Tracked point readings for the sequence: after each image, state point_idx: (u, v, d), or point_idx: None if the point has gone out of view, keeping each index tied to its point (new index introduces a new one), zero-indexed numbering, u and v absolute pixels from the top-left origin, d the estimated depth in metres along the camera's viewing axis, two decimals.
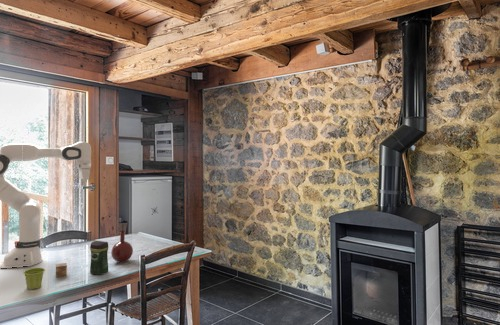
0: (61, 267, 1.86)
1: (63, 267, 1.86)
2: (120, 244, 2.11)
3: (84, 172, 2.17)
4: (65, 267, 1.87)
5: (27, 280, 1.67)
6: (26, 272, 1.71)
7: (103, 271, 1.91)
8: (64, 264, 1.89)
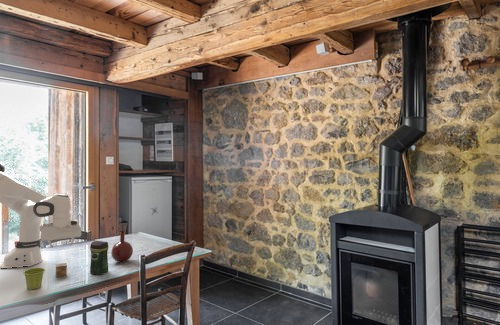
0: (61, 267, 1.86)
1: (63, 267, 1.86)
2: (120, 244, 2.11)
3: (80, 228, 1.92)
4: (65, 267, 1.87)
5: (27, 280, 1.67)
6: (26, 272, 1.71)
7: (103, 271, 1.91)
8: (64, 264, 1.89)
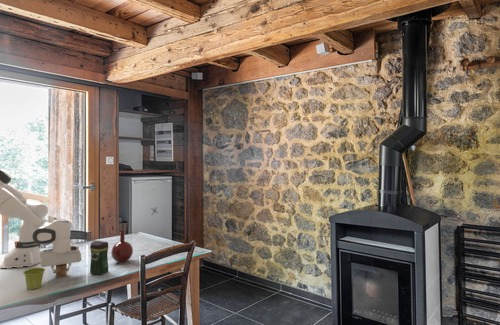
0: (61, 267, 1.86)
1: (63, 267, 1.86)
2: (120, 244, 2.11)
3: (80, 253, 1.92)
4: (65, 267, 1.87)
5: (27, 280, 1.67)
6: (26, 272, 1.71)
7: (103, 271, 1.91)
8: (64, 264, 1.89)
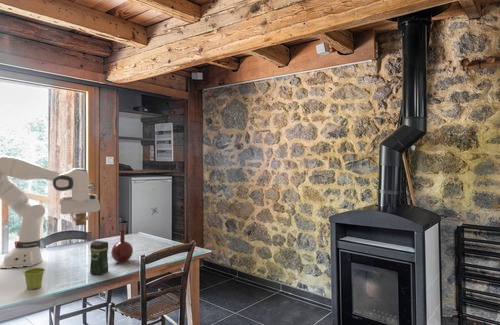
0: (80, 215, 1.87)
1: (82, 215, 1.87)
2: (120, 244, 2.11)
3: None
4: (84, 215, 1.88)
5: (27, 280, 1.67)
6: (26, 272, 1.71)
7: (103, 271, 1.91)
8: (83, 213, 1.90)
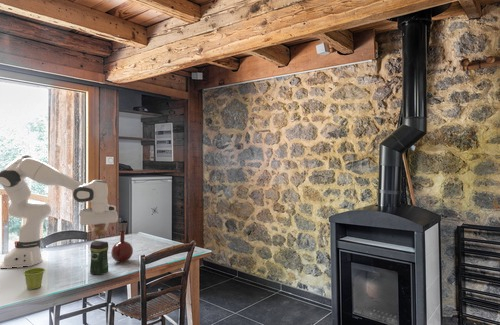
0: (99, 226, 1.91)
1: (101, 226, 1.91)
2: (120, 244, 2.11)
3: None
4: (103, 226, 1.92)
5: (27, 280, 1.67)
6: (26, 272, 1.71)
7: (103, 271, 1.91)
8: (102, 224, 1.94)
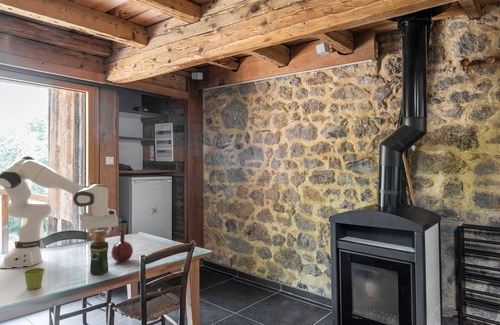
0: (100, 233, 1.91)
1: (102, 233, 1.92)
2: (120, 244, 2.11)
3: None
4: (103, 233, 1.92)
5: (27, 280, 1.67)
6: (26, 272, 1.71)
7: (103, 271, 1.91)
8: (102, 230, 1.94)
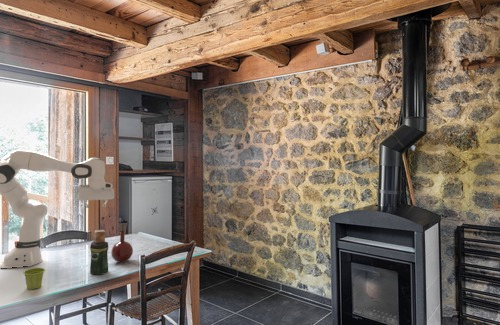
0: (100, 233, 1.91)
1: (102, 233, 1.92)
2: (120, 244, 2.11)
3: None
4: (103, 233, 1.92)
5: (27, 280, 1.67)
6: (26, 272, 1.71)
7: (103, 271, 1.91)
8: (102, 230, 1.94)
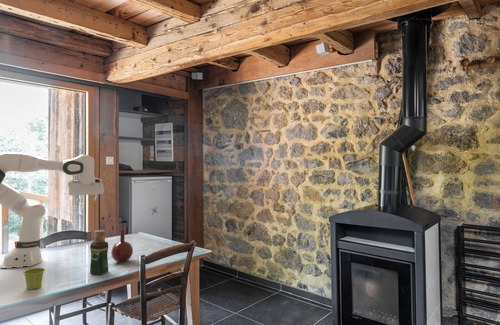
0: (100, 233, 1.91)
1: (102, 233, 1.92)
2: (120, 244, 2.11)
3: None
4: (103, 233, 1.92)
5: (27, 280, 1.67)
6: (26, 272, 1.71)
7: (103, 271, 1.91)
8: (102, 230, 1.94)
